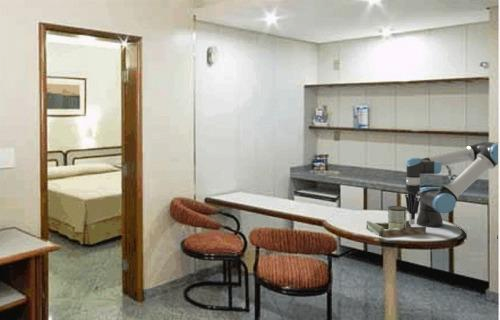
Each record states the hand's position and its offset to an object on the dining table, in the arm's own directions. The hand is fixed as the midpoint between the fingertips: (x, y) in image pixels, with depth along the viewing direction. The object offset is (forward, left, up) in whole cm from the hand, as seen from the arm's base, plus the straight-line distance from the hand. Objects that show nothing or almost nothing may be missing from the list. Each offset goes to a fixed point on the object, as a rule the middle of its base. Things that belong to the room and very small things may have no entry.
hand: (411, 224), depth 271 cm
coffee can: (+9, 0, -4) cm, 10 cm away
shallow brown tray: (+10, 0, -4) cm, 11 cm away
